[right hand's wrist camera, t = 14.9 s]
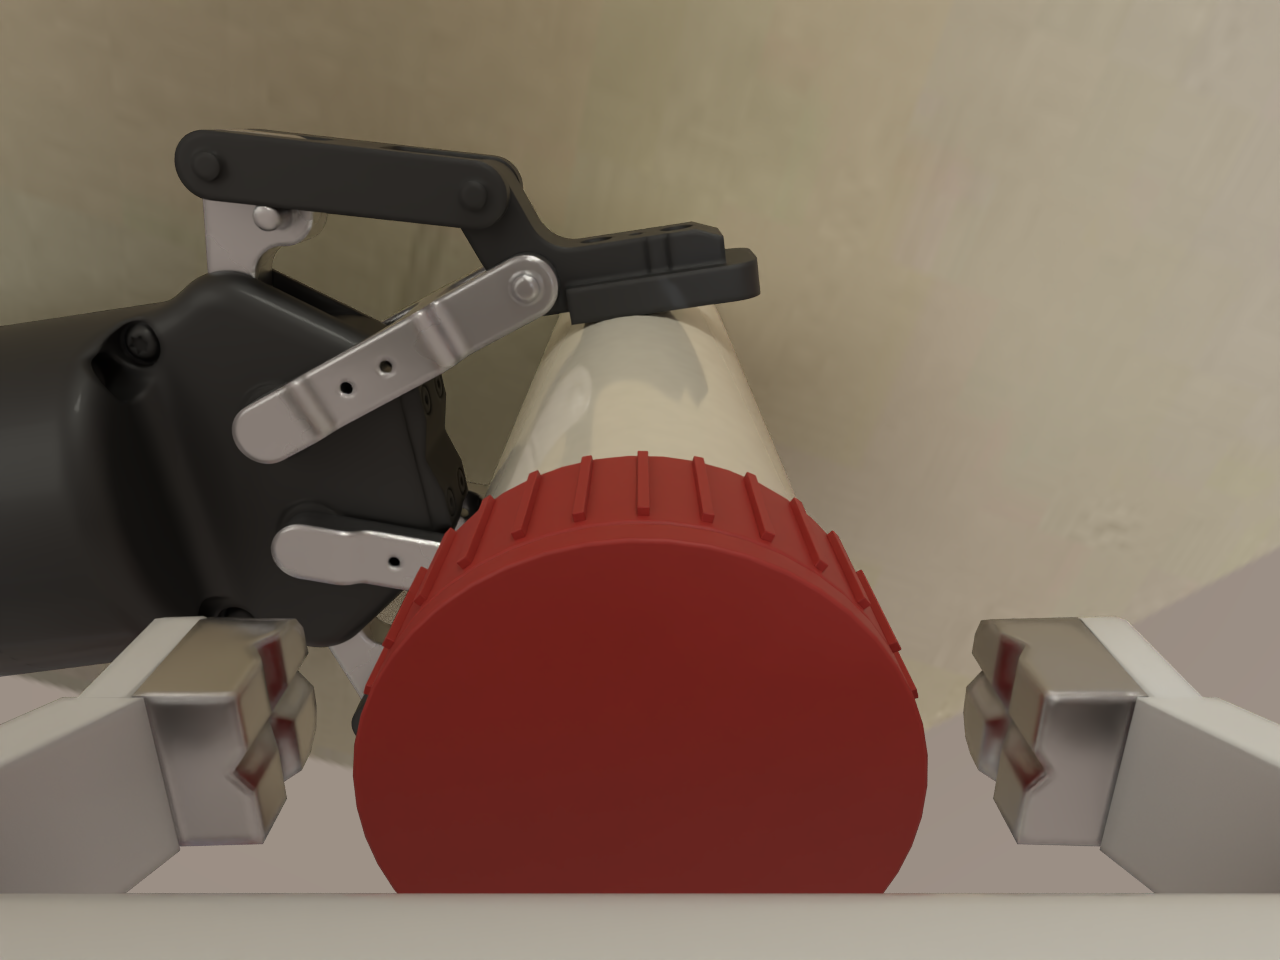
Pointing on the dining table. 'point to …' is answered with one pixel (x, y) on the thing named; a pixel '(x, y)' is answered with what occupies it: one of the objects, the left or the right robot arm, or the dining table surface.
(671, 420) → the white bottle
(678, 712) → the lid
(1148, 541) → the dining table surface
